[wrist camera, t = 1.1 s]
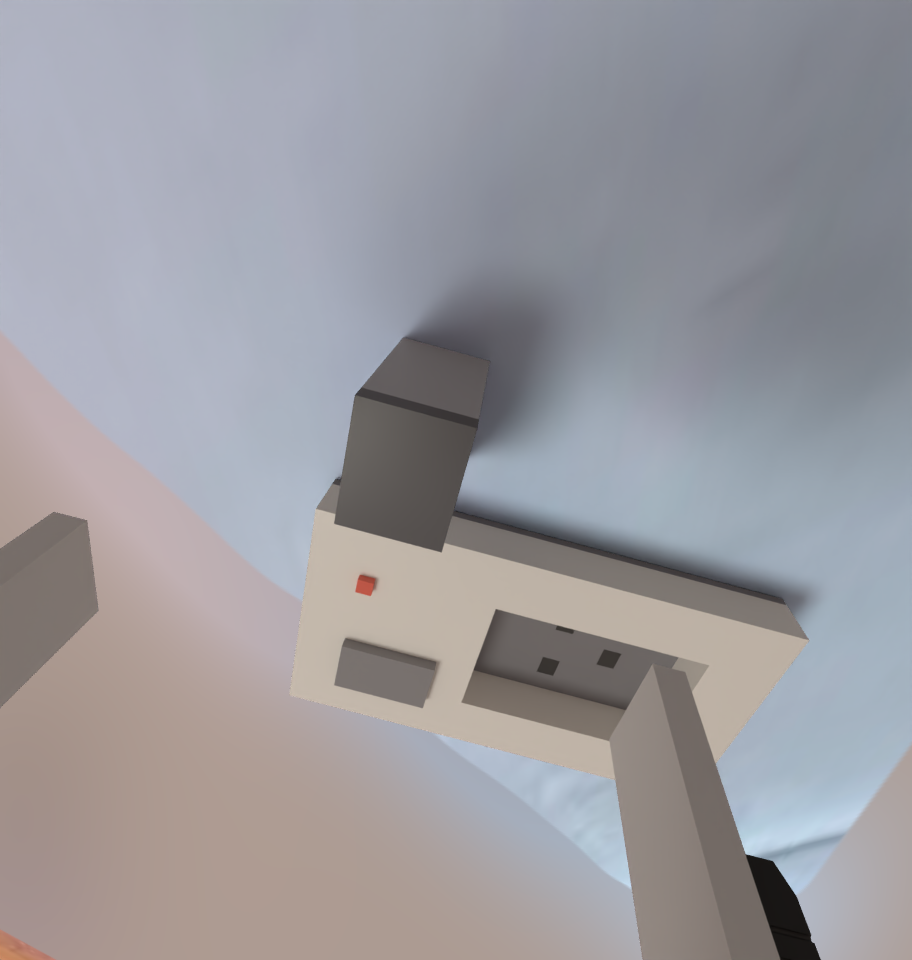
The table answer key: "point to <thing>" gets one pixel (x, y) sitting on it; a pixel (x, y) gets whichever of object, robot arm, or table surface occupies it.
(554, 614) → the socket plate
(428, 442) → the plug
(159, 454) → the table surface
